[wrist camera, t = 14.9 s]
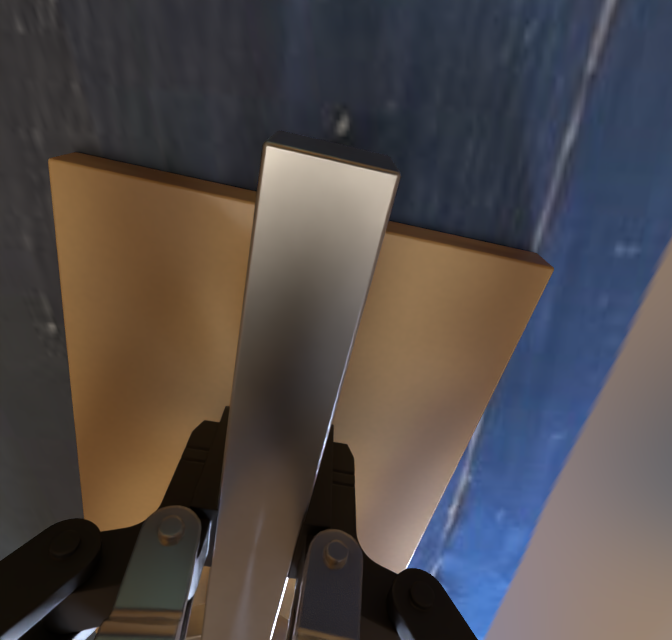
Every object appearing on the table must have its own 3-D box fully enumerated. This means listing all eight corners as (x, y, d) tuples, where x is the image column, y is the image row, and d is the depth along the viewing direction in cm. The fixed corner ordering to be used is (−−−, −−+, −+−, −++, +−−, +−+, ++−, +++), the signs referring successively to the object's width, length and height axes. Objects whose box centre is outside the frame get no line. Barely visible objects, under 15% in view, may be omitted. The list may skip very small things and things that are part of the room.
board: (538, 252, 12) (556, 268, 11) (358, 638, 23) (359, 665, 22) (73, 151, 11) (46, 157, 10) (106, 606, 22) (94, 633, 21)
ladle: (186, 98, 8) (112, 105, 6) (477, 166, 9) (535, 203, 6) (162, 665, 20) (133, 758, 17) (292, 680, 20) (284, 773, 17)
